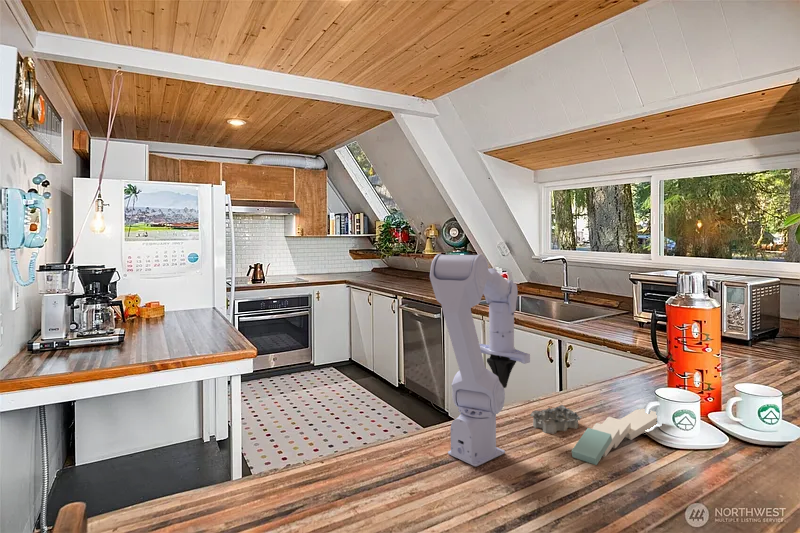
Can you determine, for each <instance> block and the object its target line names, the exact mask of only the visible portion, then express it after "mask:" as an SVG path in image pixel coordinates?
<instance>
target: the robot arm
mask: <svg viewBox="0 0 800 533" xmlns="http://www.w3.org/2000/svg"><path fill="white" fill-rule="evenodd" d="M429 280H430V283H431V287H432V289H433V294H434V297H435V300H436V301H437V302H438V303H439V304H441V305H440V306H441V308H442V314H443V317H444V321H445V324H446V327H447V331H448V335H449V338H450V342H451V345H452V348H453V349H452V350H453V353H454V355H455V359H456V363H457V366H458V369H459V370H458V371H456V373H455V374H454V376H453V379H452V382H451V390H452V392H451V393H452V394H451V395H452V401H453V404H454V406H455V407H457V408H458V412H459V416H457V417H456V418H455V419H453V421H451V424H450V450H449V451H447V454H448V455H450V456H452V457H454V458H456V459H459V460H461V462H465V463H467V464H469V465H471V466H473V467H478V466H481V465H483V464H485V463H487V462H489V461H492V460H494V459H495V458H498V457H500V456H502V455H504V454H505V453H506V451H505V449H502V448H500V447H497V415H498V414H500V412H502V410H503V407H504V406H505V399H506V397H505V396H506V394H505V393H506V392H505V389H506V388H507V386H508V383H509V379H510V378H509V377H510V375H511V372H512V370H513V368H514V367H515V365H516V363H517V362H519V363H521V364H525V365H526V364H529V363H531V355H530V354H531V353H527V352H524V351H521V350H518V349H516V348H515V312H516V309H517V300H518V295H519V294H518V293H519V292H518V284H517V283H516V282H514V281H513V280H509V279H506V278H505V277H503V275H501V274H500V273H499V272H498V270H497V269H496V268H494V267H493V268H492V267H490V268H489V264H488V261H487V258H486V257H485V256H484V254H481V253H478V254H442V253H437V254H436V255H435V256H434V257H433V259H432V261H431V264H430V272H429ZM483 296H484V299H485V303H486V304H488V322H489V324H488V325H489V327H488V330H489V334H488V335H489V337H488V338H489V340H488V342H489V343H488V344H486V343H480V341H479V338H478V333H477V329H476V326H475V321H474V318H473V314H472V308H473V307H475V306H477V305H479V304H480V303H481V302H482V297H483ZM483 354H485V355H488V356H489V355H490V356H489V357H487V358H486V362H487V364H488V366H489V368H490V370H489V369H488V368H486V365H485V362H484V361H485V360H484V358H483Z"/></svg>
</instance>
